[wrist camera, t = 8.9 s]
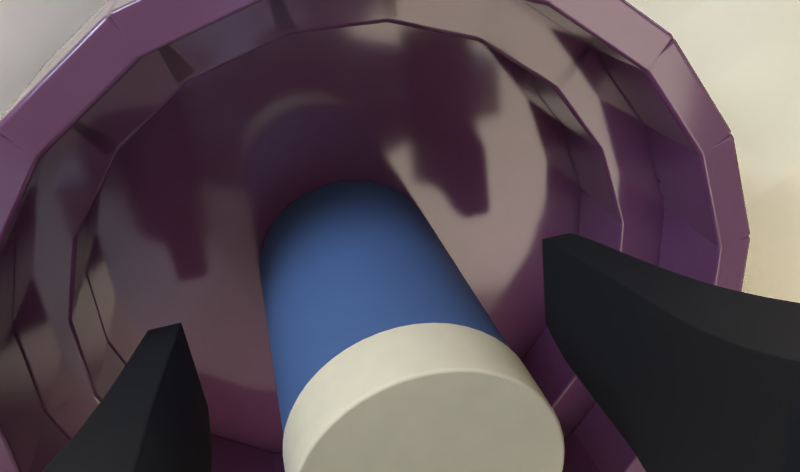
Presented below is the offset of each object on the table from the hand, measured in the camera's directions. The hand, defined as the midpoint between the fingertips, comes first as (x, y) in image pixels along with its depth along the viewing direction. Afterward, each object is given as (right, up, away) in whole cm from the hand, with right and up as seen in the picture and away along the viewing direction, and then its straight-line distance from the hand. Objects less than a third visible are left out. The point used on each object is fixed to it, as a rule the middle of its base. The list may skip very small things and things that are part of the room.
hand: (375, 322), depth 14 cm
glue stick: (-1, +1, +2) cm, 3 cm away
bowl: (-1, +1, +3) cm, 3 cm away
